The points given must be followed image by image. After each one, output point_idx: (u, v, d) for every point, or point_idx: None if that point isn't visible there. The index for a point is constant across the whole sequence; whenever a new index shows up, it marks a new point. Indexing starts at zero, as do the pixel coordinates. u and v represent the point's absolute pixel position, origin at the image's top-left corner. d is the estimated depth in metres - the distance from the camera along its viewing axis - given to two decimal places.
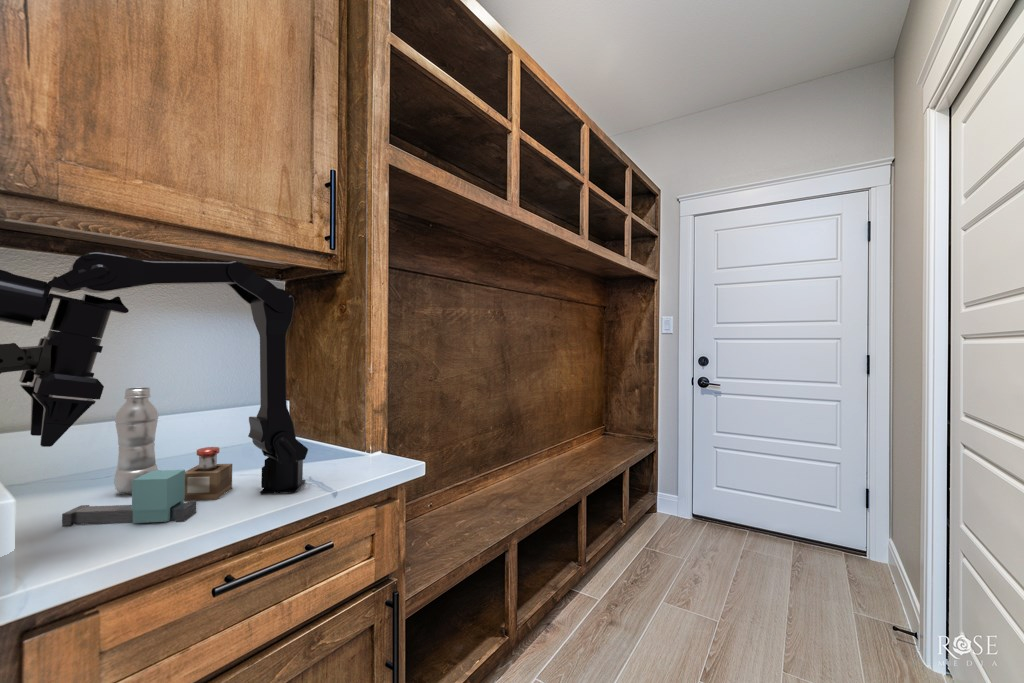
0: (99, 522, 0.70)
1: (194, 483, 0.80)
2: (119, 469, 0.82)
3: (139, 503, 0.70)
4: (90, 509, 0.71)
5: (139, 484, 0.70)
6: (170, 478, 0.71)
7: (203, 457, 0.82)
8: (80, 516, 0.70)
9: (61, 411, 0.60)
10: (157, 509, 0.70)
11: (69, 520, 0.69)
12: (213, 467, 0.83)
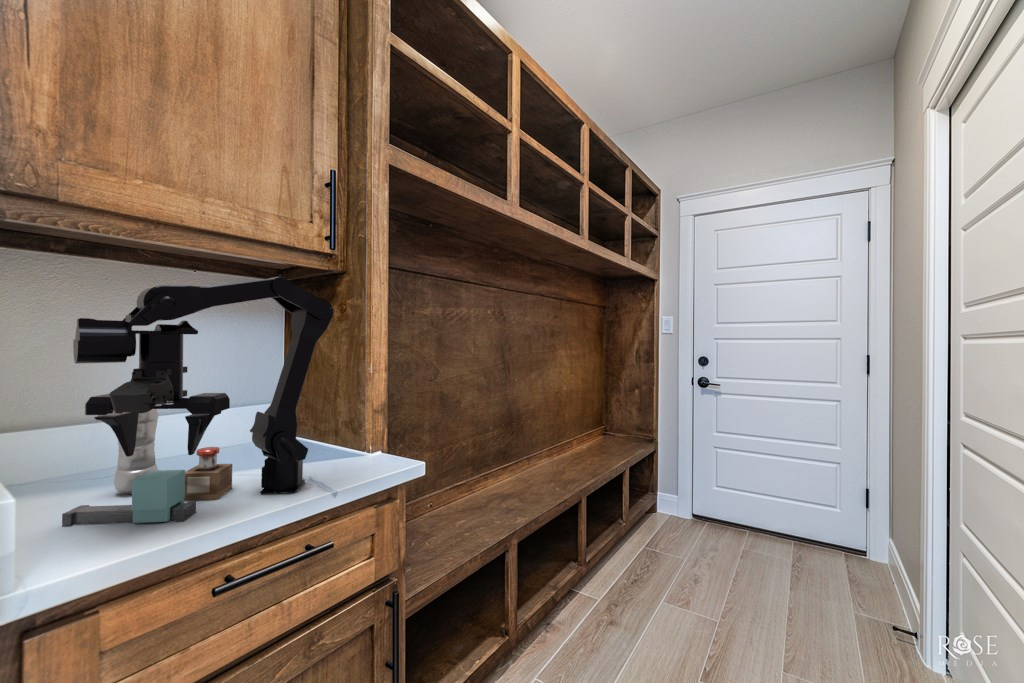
0: (99, 522, 0.70)
1: (194, 483, 0.80)
2: (119, 469, 0.82)
3: (139, 503, 0.70)
4: (90, 509, 0.71)
5: (139, 484, 0.70)
6: (170, 478, 0.71)
7: (203, 457, 0.82)
8: (80, 516, 0.70)
9: (199, 424, 0.74)
10: (157, 509, 0.70)
11: (69, 520, 0.69)
12: (213, 467, 0.83)
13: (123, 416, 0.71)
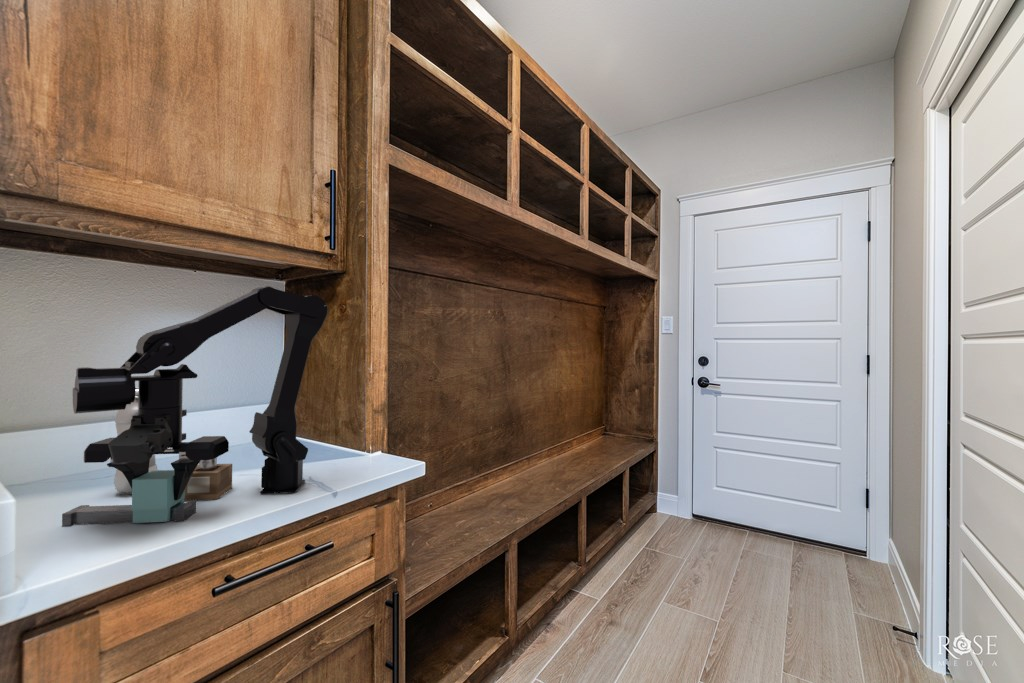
0: (99, 522, 0.70)
1: (194, 483, 0.80)
2: None
3: (139, 503, 0.70)
4: (90, 509, 0.71)
5: (139, 484, 0.70)
6: (170, 478, 0.71)
7: None
8: (80, 516, 0.70)
9: (186, 469, 0.73)
10: (157, 509, 0.70)
11: (69, 520, 0.69)
12: (213, 467, 0.83)
13: (135, 461, 0.71)
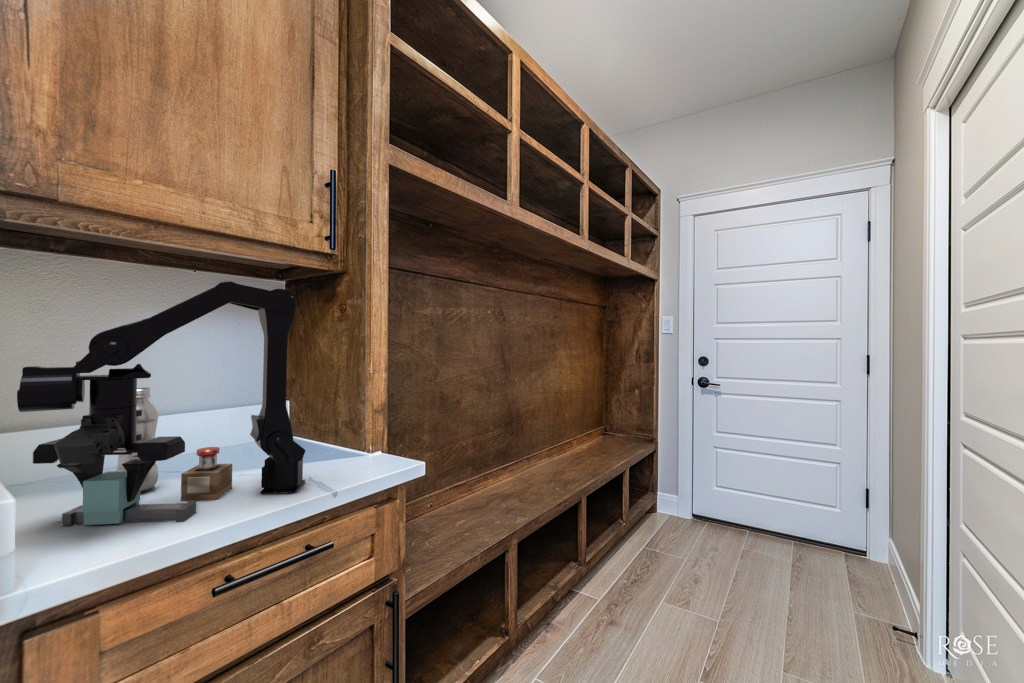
0: None
1: (194, 483, 0.80)
2: (119, 469, 0.82)
3: (90, 505, 0.69)
4: None
5: (90, 486, 0.69)
6: (123, 479, 0.70)
7: (203, 457, 0.82)
8: (80, 516, 0.70)
9: (139, 470, 0.72)
10: (109, 511, 0.69)
11: (69, 520, 0.69)
12: (213, 467, 0.83)
13: None
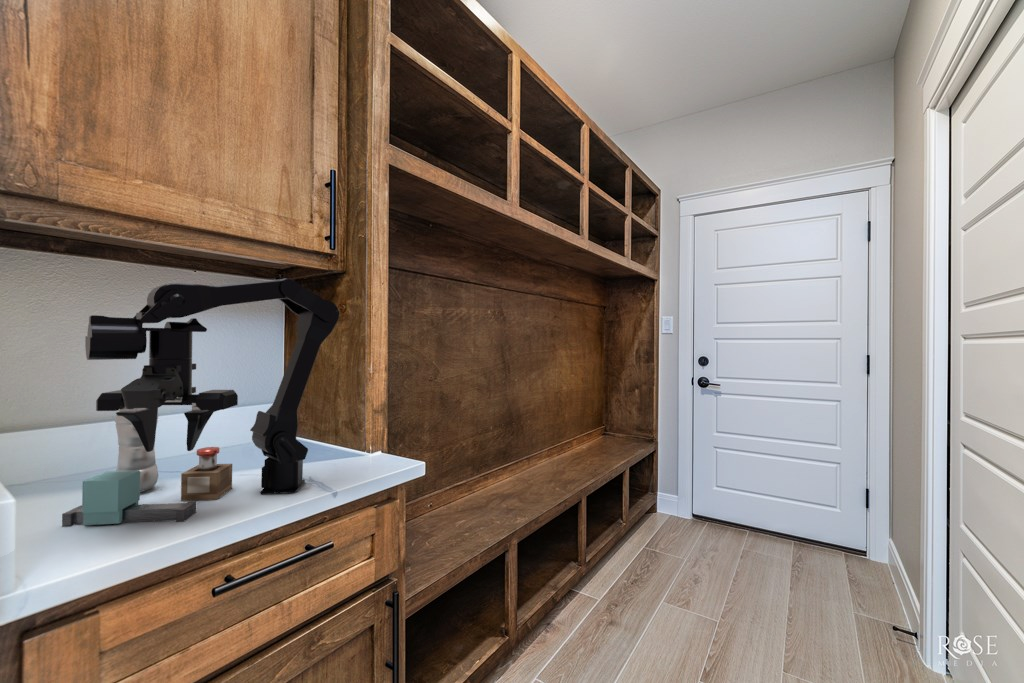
0: None
1: (194, 483, 0.80)
2: (119, 469, 0.82)
3: (90, 505, 0.69)
4: None
5: (90, 486, 0.69)
6: (122, 479, 0.70)
7: (203, 457, 0.82)
8: (80, 516, 0.70)
9: (198, 421, 0.75)
10: (108, 511, 0.69)
11: (69, 520, 0.69)
12: (213, 467, 0.83)
13: (143, 412, 0.72)
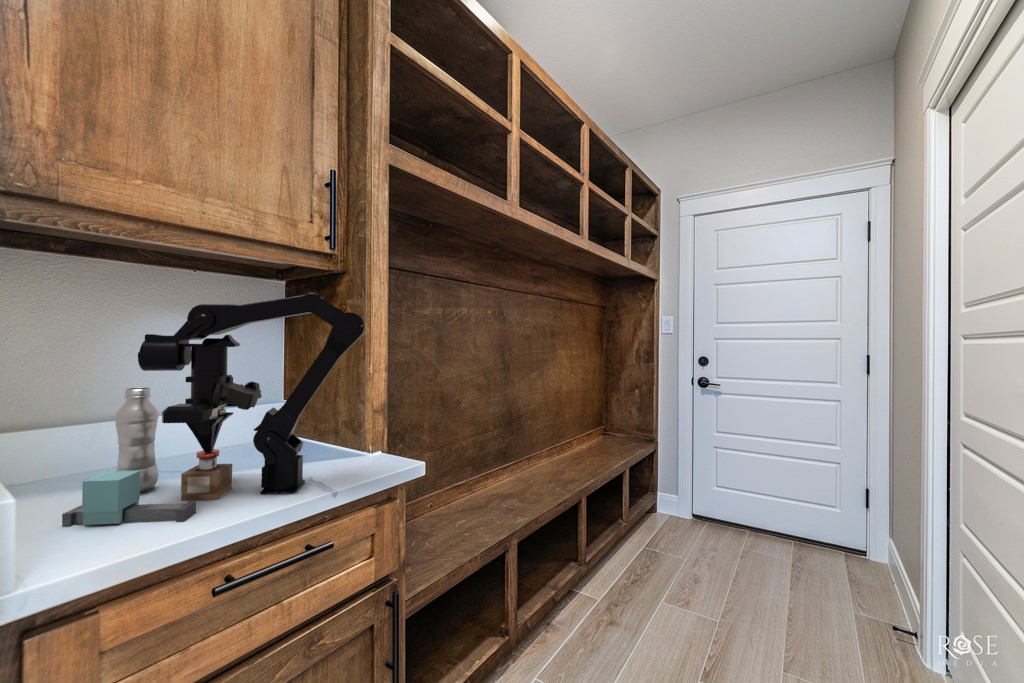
0: None
1: (194, 483, 0.80)
2: (119, 469, 0.82)
3: (90, 505, 0.69)
4: None
5: (90, 486, 0.69)
6: (122, 479, 0.70)
7: (203, 460, 0.82)
8: (80, 516, 0.70)
9: None
10: (108, 511, 0.69)
11: (69, 520, 0.69)
12: (213, 470, 0.83)
13: None
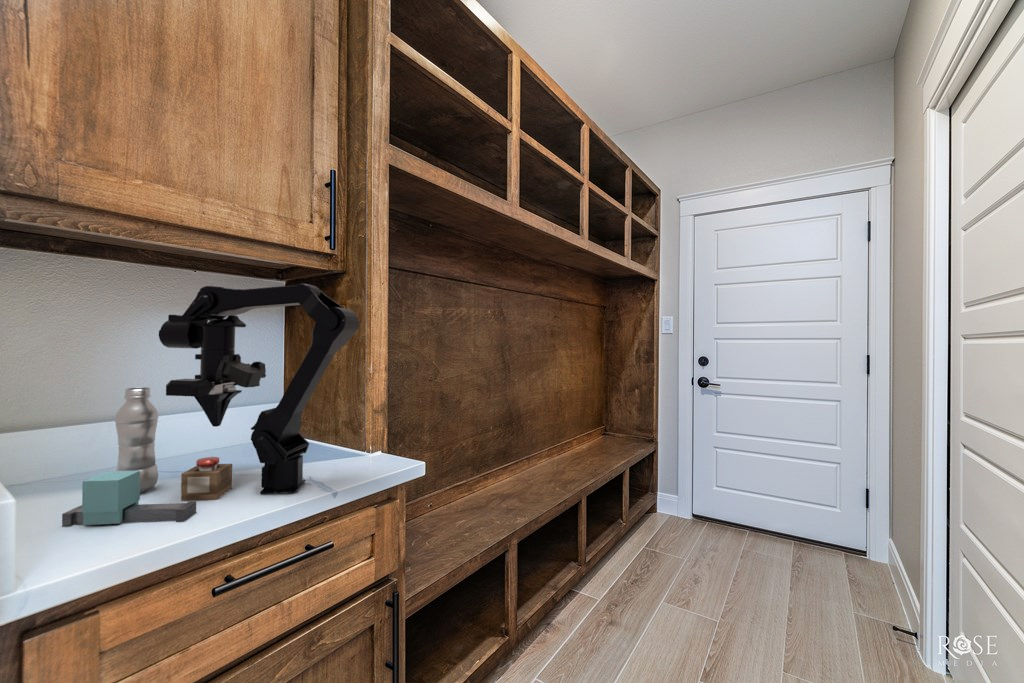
0: None
1: (194, 483, 0.80)
2: (119, 469, 0.82)
3: (90, 505, 0.69)
4: None
5: (90, 486, 0.69)
6: (122, 479, 0.70)
7: (203, 467, 0.82)
8: (80, 516, 0.70)
9: None
10: (108, 511, 0.69)
11: (69, 520, 0.69)
12: None
13: None
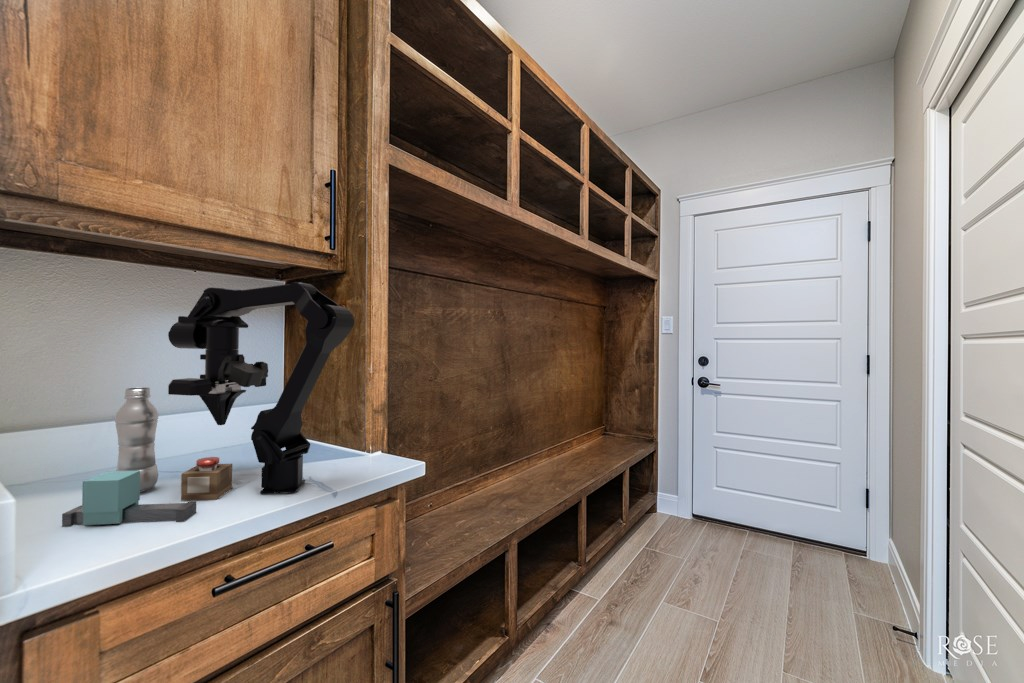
0: None
1: (194, 483, 0.80)
2: (119, 469, 0.82)
3: (90, 505, 0.69)
4: None
5: (90, 486, 0.69)
6: (122, 479, 0.70)
7: (203, 467, 0.82)
8: (80, 516, 0.70)
9: None
10: (108, 511, 0.69)
11: (69, 520, 0.69)
12: None
13: None
